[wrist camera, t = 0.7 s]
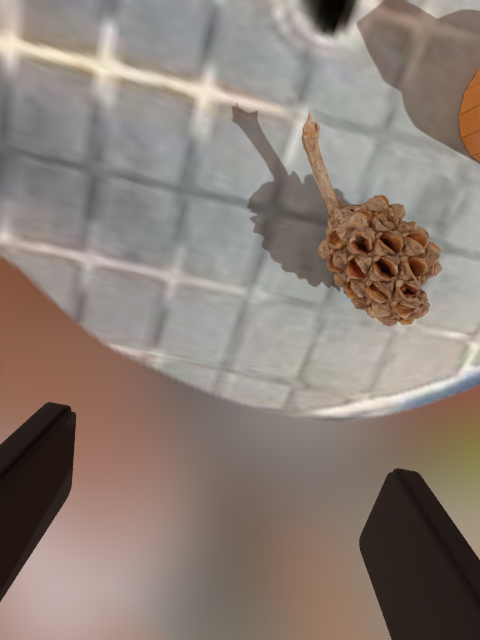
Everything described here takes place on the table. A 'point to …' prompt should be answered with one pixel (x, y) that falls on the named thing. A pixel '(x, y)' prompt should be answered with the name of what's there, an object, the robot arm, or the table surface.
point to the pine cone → (374, 249)
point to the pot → (471, 118)
